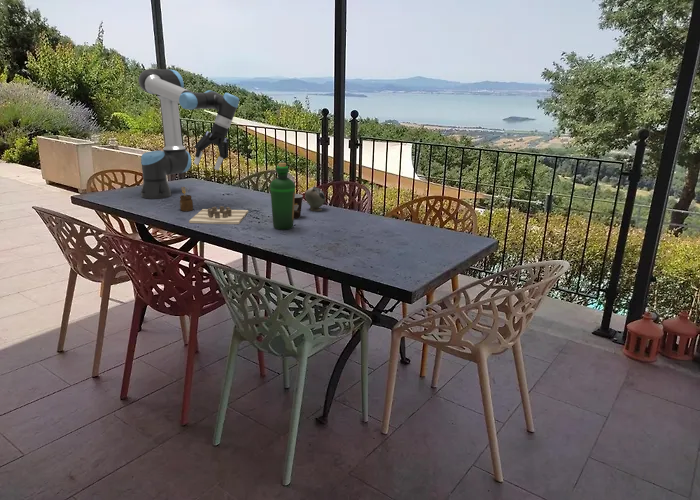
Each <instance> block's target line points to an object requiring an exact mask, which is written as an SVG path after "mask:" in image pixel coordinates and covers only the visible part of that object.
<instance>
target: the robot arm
mask: <svg viewBox="0 0 700 500" xmlns="http://www.w3.org/2000/svg"><path fill="white" fill-rule="evenodd" d="M138 84H139V85H138V86H139V87H140V88H141V89H142V90H143V91H144V92H146V93H148V94H150V95H156V97H157V98H158V99H159V100H160V107H161V115H162V116H161V117H162V124H163V133H164V141H165V146H164V147H163V148H162V149H163V150H152V151H151V150H150V151H147V152H144V153H142V154H141V158H140V161H141V162H140V164H141V172H142V179H143V183H142V188H141V191H140V195H141V196H142V197H141V196H140V197H141V198H142V199H143V198H144V199H151V200H154V199H156V200H157V199H165V198H170V197H171V196H172V190H171V188H170V186H169V184H168V182H167V181H168V180H167V176H168V175H173V174H174V175H175V174H183V173H186V172H188V171H189V170H190V169H191V167H192V157H191V155H190V152H189V151H187V149H186V147H185V146H184V145H183V139H182V130H181V121H180V120H181V119H180V111H179V105H180V107H181V108H182V109H184V110H190V111H191V110H211V109H212V110H216V111H217V114H216V116H215V119H214V123H213V124H212V127H211V132H210V131H208V130H206V131H205V132H204V135H203V136H202V137H201V138H200V139H199V140H198V142H196V143H195V144H194V148H195V149H196V153H195V155H194V156H195V158H194V161H193V164H195V165H197V166H199V164H200V161H201V159H202V156H203V153H204V152H203V151H204V150H205V149H206V148H208V147H209V146H210V145H212V144H214V145H217V148H218V151H219V156H218V157H217V159H216V162H215V165H214V168H213V169H214V170H216V171H220V169H221V165H222V164H223V162H224V159H225V160H226V159H228V158H229V142H230V139H229V138H228V137H227V136H228V134H229V129H230V127H231V125H232V122H233V120H234V116H235V114H236V112H237V110H238V107H239V103H240V98H239V97H238V96H236V95H233V94H231V93H229V92H225V93H224V94H221V93H218V92H216V91H213V90H211V89H209V90H208V89H207V90H206V91H205V92H195V91H191V90H189V89H187V88H184V86H185V83H184V80H183V77H182V75H181V74H180V72H178V71H177V70H174V69H169V68H168V69H165V68H164V69H163V68H147V69H144V70H143V71H142V72H141V73H140V74H139V76H138Z"/></svg>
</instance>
